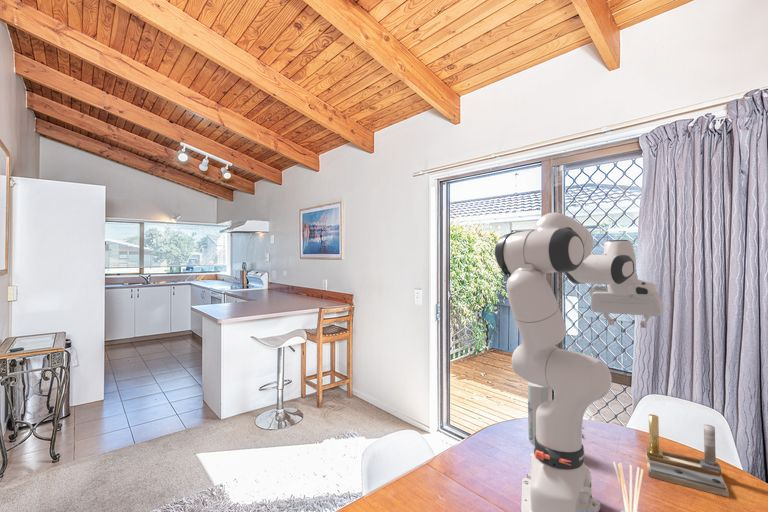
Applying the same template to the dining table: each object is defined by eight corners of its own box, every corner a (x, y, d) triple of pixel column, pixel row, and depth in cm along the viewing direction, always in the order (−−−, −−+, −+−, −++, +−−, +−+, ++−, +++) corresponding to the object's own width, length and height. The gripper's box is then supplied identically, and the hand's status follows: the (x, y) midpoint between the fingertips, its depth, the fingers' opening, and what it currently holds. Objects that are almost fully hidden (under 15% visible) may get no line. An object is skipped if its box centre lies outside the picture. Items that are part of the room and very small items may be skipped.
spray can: (530, 435, 128) (529, 379, 128) (549, 440, 125) (549, 382, 125) (526, 443, 123) (525, 385, 123) (547, 448, 119) (546, 388, 120)
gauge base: (728, 497, 94) (727, 443, 94) (648, 476, 104) (647, 427, 104) (716, 471, 106) (715, 423, 106) (645, 454, 115) (645, 410, 115)
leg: (663, 460, 108) (662, 419, 109) (646, 456, 111) (646, 416, 111) (661, 454, 112) (661, 415, 112) (646, 450, 114) (645, 412, 114)
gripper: (585, 288, 125) (590, 326, 127) (658, 289, 110) (662, 332, 112) (591, 283, 129) (596, 320, 131) (661, 284, 114) (666, 325, 116)
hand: (627, 326), depth 121 cm, fingers open, 8 cm apart
